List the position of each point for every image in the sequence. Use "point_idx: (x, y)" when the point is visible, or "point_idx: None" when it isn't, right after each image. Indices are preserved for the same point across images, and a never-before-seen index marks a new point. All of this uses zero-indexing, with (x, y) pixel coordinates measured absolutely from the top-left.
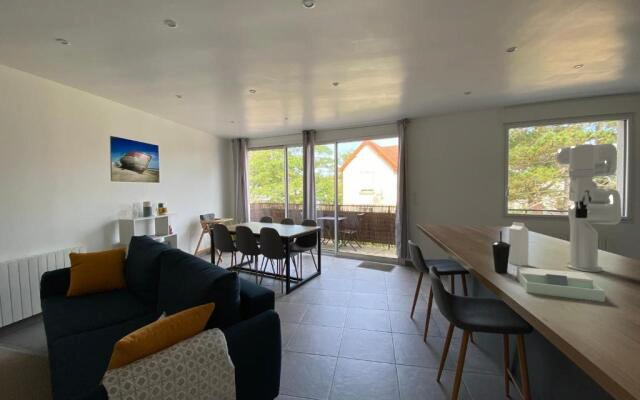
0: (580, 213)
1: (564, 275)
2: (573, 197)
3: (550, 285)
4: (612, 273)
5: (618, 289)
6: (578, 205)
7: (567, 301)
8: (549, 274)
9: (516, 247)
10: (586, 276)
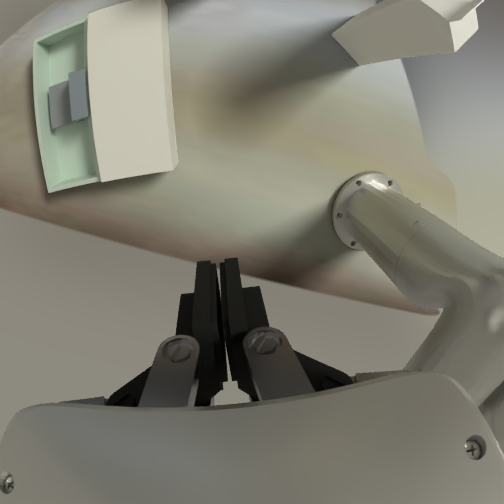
0: (179, 310)
1: (109, 116)
2: (155, 479)
3: (34, 87)
4: (335, 260)
5: (178, 233)
6: (167, 373)
7: (30, 119)
8: (69, 79)
9: (371, 11)
10: (129, 172)
